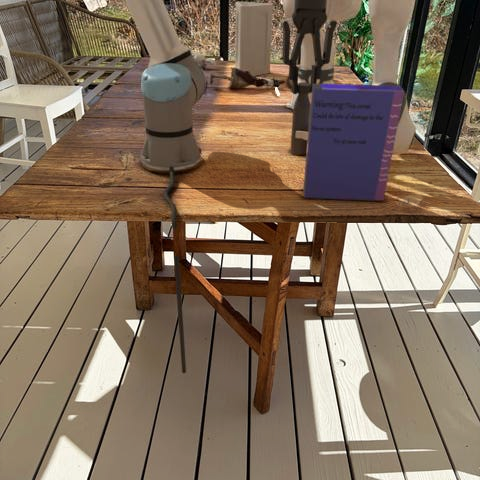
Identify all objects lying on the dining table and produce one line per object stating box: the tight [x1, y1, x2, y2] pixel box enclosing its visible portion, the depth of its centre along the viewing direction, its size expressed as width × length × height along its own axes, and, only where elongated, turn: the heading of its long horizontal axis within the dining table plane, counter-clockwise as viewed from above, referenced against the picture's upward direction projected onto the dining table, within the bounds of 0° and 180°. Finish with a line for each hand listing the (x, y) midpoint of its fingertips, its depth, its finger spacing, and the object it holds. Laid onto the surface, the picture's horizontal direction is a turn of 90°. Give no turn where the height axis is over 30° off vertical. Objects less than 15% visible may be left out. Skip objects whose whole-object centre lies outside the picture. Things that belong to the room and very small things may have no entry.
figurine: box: [209, 66, 287, 89], centre depth 190 cm, size 24×8×30 cm
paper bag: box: [234, 1, 274, 77], centre depth 210 cm, size 19×15×28 cm
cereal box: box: [302, 83, 405, 202], centre depth 102 cm, size 17×5×24 cm, turn 86°
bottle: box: [289, 93, 311, 156], centre depth 127 cm, size 5×5×18 cm
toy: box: [191, 50, 218, 67], centre depth 224 cm, size 24×25×7 cm
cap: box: [297, 83, 311, 94], centre depth 122 cm, size 4×4×2 cm
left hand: (303, 92), depth 123 cm, fingers open, 4 cm apart
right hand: (297, 130), depth 128 cm, fingers closed on bottle, 4 cm apart
